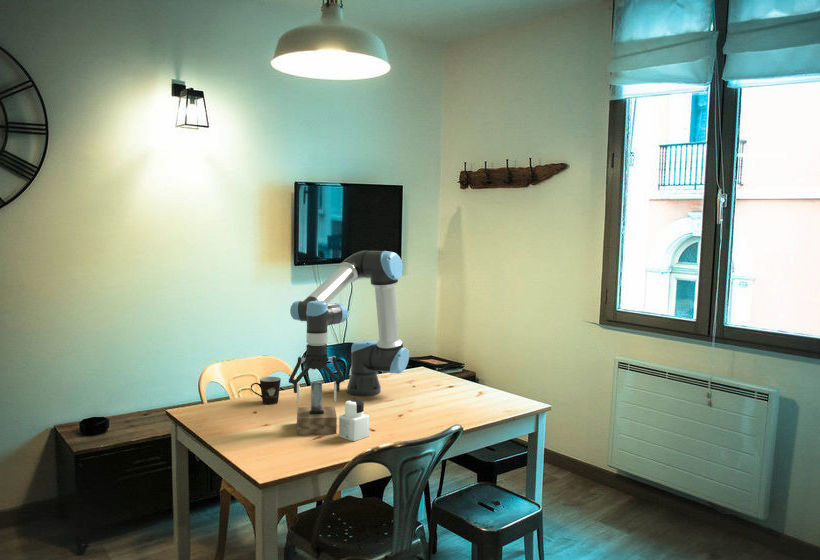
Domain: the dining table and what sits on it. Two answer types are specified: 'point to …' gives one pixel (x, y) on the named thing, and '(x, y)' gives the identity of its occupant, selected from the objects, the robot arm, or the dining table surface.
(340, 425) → the container
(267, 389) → the coffee mug
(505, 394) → the dining table surface
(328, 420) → the bore block
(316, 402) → the pin
